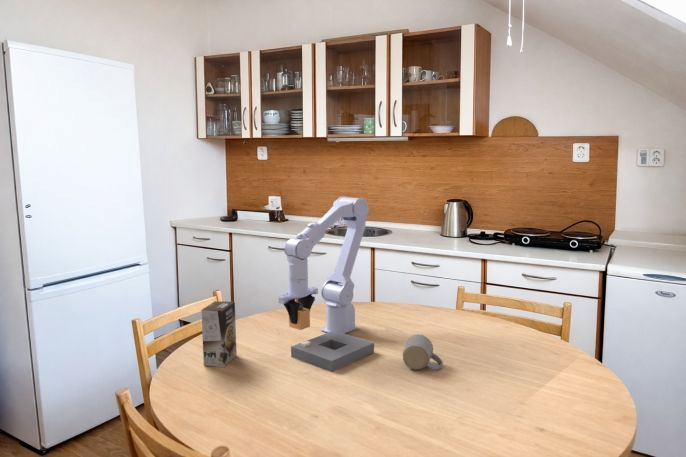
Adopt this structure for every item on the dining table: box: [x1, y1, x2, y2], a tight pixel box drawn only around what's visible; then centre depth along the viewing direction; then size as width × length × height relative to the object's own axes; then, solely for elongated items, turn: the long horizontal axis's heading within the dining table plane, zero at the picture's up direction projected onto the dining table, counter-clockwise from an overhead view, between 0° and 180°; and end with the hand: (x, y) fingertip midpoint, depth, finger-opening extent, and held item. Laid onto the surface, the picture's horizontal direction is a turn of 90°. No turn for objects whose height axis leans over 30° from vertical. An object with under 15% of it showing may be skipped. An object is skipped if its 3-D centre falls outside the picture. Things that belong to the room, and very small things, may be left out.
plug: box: [288, 302, 311, 331], centre depth 163 cm, size 4×5×7 cm
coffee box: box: [201, 301, 238, 368], centre depth 150 cm, size 9×6×16 cm
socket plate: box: [290, 331, 375, 372], centre depth 154 cm, size 18×16×4 cm
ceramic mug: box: [402, 334, 444, 371], centre depth 145 cm, size 11×8×8 cm
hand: (299, 321), depth 163 cm, fingers closed on plug, 4 cm apart
